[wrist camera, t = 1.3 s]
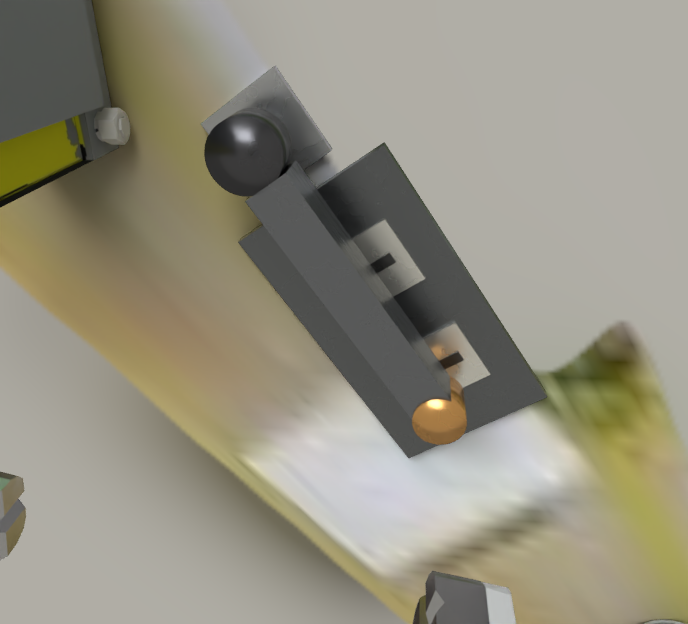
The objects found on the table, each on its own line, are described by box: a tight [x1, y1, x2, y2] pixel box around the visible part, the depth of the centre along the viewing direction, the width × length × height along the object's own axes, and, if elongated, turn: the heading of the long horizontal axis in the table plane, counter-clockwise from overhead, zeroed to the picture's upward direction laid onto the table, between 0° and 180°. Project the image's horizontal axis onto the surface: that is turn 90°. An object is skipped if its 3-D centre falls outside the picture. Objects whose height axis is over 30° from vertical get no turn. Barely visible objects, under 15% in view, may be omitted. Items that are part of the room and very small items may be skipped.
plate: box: [238, 143, 547, 458], centre depth 43 cm, size 12×22×1 cm, turn 35°
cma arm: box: [205, 108, 467, 445], centre depth 38 cm, size 25×4×3 cm, turn 35°
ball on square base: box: [201, 66, 332, 170], centre depth 38 cm, size 6×6×3 cm
